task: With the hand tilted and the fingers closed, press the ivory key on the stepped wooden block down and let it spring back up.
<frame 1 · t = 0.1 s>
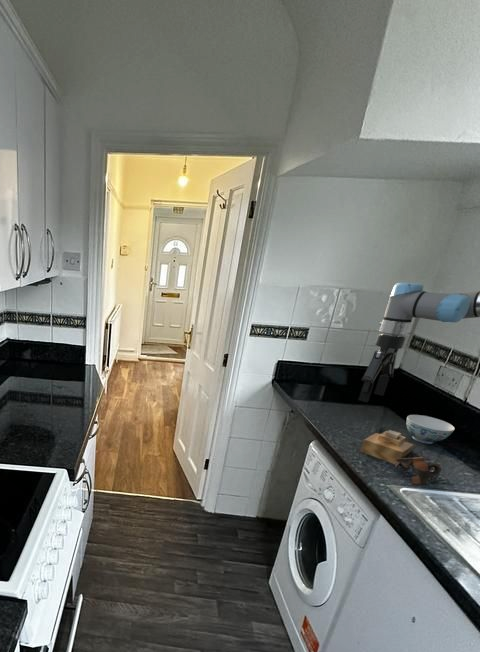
hand: (370, 397, 140), 21 cm above the counter, tool pointing down, fingers open, 13 cm apart
chinaware: (422, 440, 162), on the counter
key: (393, 434, 146), point 7 cm above the counter, slide at 0.1 cm
stepped wooden block: (384, 455, 148), on the counter
brown toy vehicle: (412, 478, 133), on the counter
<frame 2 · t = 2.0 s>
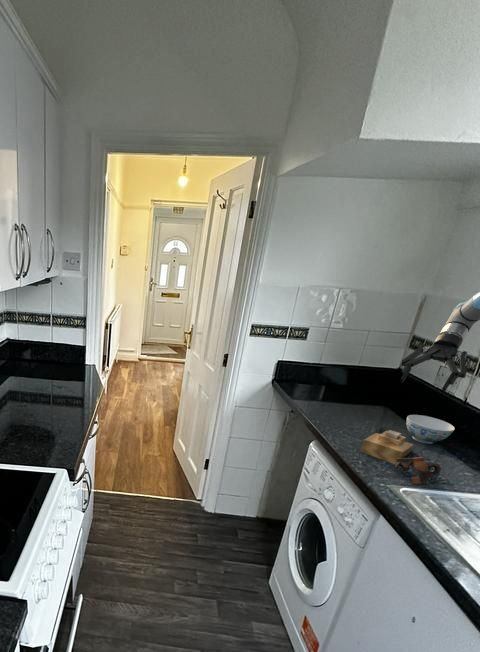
hand: (421, 385, 148), 23 cm above the counter, tool tilted 45°, fingers open, 12 cm apart
nothing on the counter moved.
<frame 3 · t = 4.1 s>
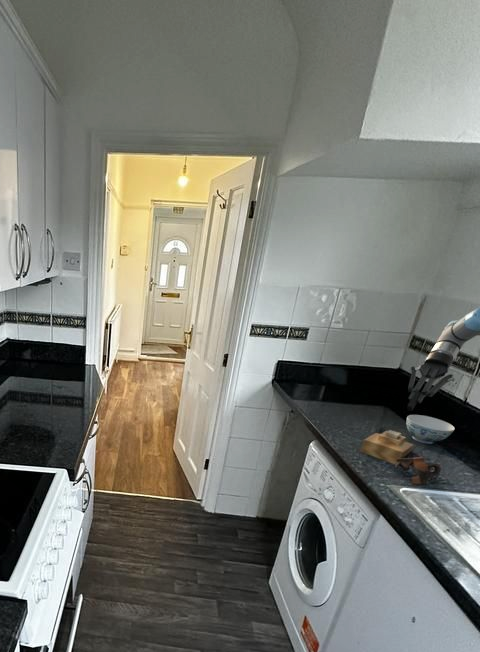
hand: (409, 408, 148), 16 cm above the counter, tool tilted 45°, fingers closed
nothing on the counter moved.
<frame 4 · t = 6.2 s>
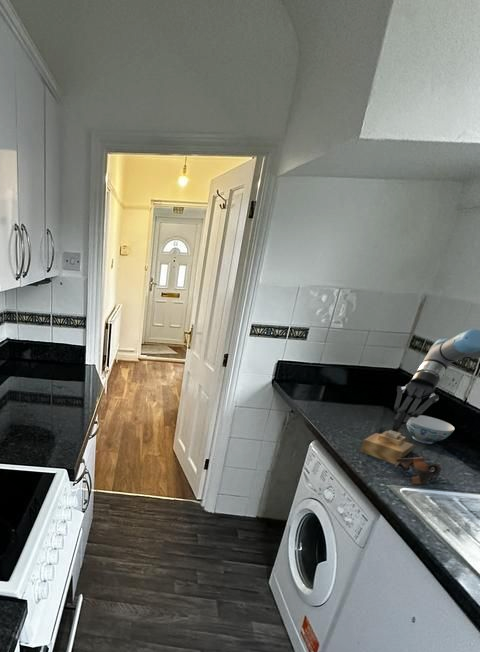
hand: (395, 429, 146), 10 cm above the counter, tool tilted 45°, fingers closed
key: (393, 435, 146), point 7 cm above the counter, slide at 0.0 cm, touching gripper
everything else where it was.
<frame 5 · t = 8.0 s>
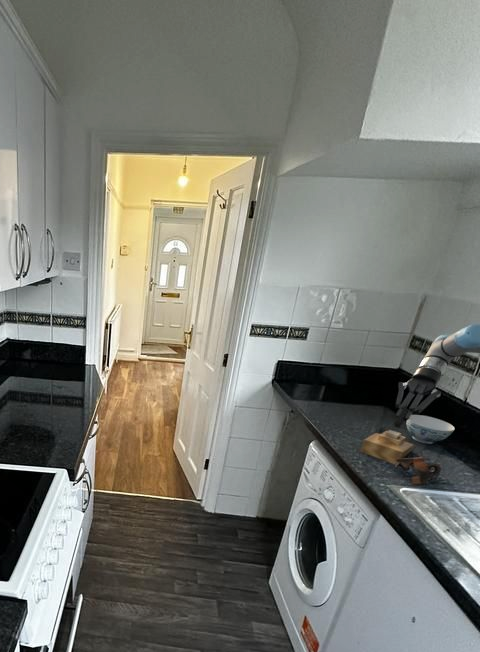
hand: (397, 425, 145), 11 cm above the counter, tool tilted 45°, fingers closed
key: (393, 434, 146), point 7 cm above the counter, slide at 0.1 cm
everything else where it was.
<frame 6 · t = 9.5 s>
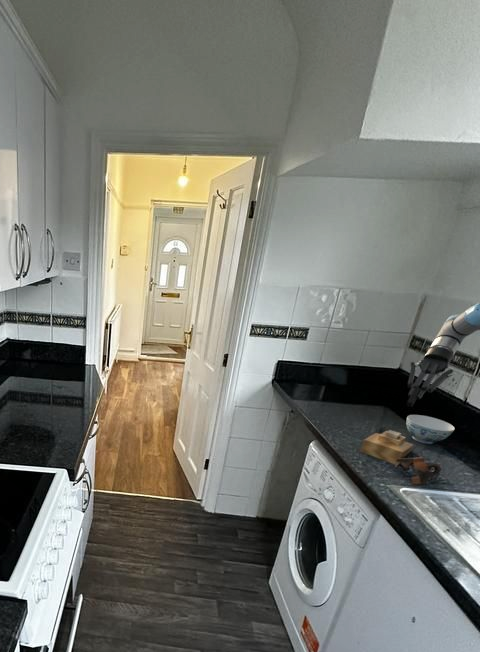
hand: (409, 404, 146), 18 cm above the counter, tool tilted 45°, fingers closed
nothing on the counter moved.
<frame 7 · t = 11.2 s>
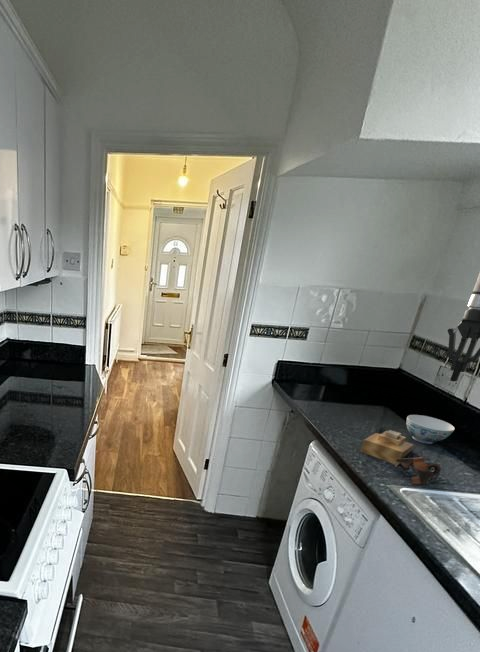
hand: (453, 380, 141), 27 cm above the counter, tool pointing down, fingers closed
nothing on the counter moved.
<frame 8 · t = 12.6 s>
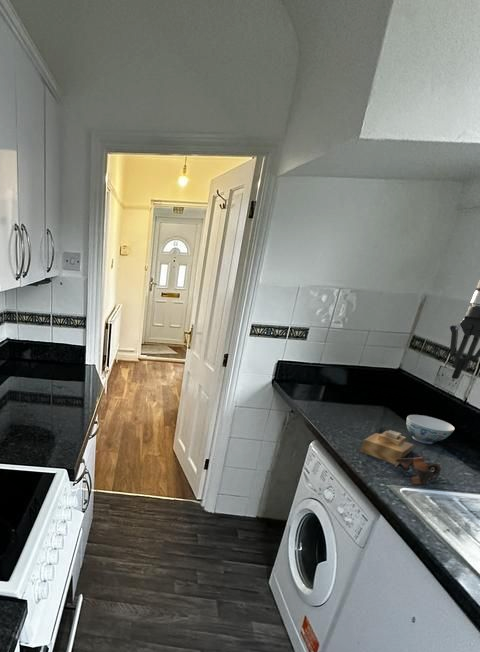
hand: (455, 377, 140), 28 cm above the counter, tool pointing down, fingers closed
nothing on the counter moved.
at the end: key pushed in 1.3 cm at the most during the clip, back to where it started at the end; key slide at 0.1 cm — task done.
